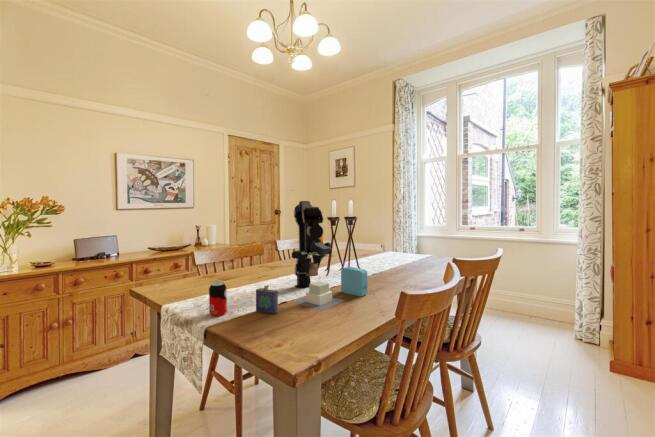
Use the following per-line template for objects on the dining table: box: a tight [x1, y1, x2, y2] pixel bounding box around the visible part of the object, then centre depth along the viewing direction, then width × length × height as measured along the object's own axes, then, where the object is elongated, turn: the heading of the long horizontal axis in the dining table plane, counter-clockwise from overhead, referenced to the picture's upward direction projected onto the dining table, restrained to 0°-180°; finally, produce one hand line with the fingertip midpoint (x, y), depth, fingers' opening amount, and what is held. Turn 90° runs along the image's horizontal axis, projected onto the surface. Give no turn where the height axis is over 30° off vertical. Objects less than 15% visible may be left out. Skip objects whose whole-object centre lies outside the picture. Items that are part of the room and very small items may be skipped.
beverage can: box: [208, 281, 228, 317], centre depth 117 cm, size 6×6×12 cm
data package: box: [340, 266, 368, 297], centre depth 142 cm, size 12×4×12 cm, turn 50°
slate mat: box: [293, 296, 346, 312], centre depth 131 cm, size 16×16×1 cm
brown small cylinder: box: [306, 261, 319, 277], centre depth 131 cm, size 5×5×5 cm
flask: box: [255, 284, 279, 315], centre depth 119 cm, size 9×3×11 cm, turn 74°
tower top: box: [308, 280, 330, 295], centre depth 131 cm, size 6×6×4 cm
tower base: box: [305, 290, 333, 306], centre depth 131 cm, size 8×8×4 cm
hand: (311, 272), depth 131 cm, fingers closed on brown small cylinder, 5 cm apart
